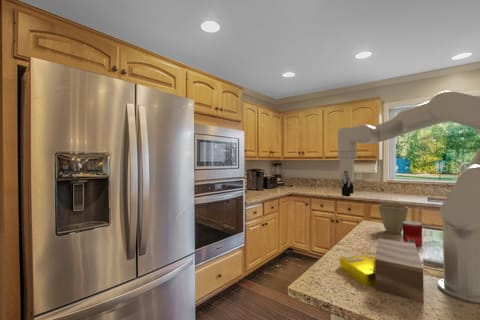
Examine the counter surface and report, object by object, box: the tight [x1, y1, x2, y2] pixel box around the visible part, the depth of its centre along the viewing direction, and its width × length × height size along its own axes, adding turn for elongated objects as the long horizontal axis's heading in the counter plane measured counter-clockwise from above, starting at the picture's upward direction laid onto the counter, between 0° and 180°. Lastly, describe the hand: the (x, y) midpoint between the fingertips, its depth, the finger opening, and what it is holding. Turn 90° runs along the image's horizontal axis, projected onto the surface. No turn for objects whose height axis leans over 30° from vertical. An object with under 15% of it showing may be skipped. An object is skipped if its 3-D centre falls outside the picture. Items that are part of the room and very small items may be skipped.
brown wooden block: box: [375, 237, 425, 303], centre depth 83 cm, size 25×12×10 cm, turn 147°
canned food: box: [402, 220, 423, 248], centre depth 117 cm, size 8×8×11 cm
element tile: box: [339, 254, 376, 286], centre depth 87 cm, size 15×15×5 cm
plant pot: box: [378, 203, 409, 235], centre depth 137 cm, size 15×15×16 cm
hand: (347, 194), depth 100 cm, fingers open, 9 cm apart
